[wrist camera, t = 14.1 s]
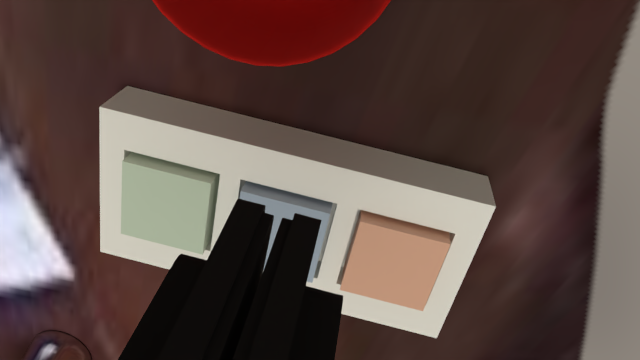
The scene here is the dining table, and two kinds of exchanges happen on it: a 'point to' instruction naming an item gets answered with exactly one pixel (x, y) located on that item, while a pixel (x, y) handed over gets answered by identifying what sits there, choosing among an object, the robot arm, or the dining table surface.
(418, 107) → the dining table surface
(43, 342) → the beer glass
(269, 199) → the button slate
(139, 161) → the button sage
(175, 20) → the ceramic cup
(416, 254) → the button terracotta
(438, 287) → the button panel
